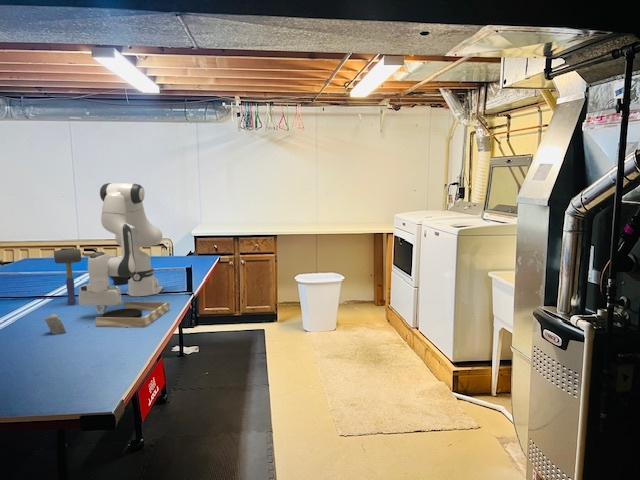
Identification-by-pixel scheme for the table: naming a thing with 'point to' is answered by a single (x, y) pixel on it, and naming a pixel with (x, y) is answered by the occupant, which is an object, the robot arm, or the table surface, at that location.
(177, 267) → the table surface
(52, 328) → the mineral specimen
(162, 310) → the box
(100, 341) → the table surface
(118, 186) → the robot arm
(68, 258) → the rubber mallet
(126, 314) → the wireless charger
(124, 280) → the pen holder
